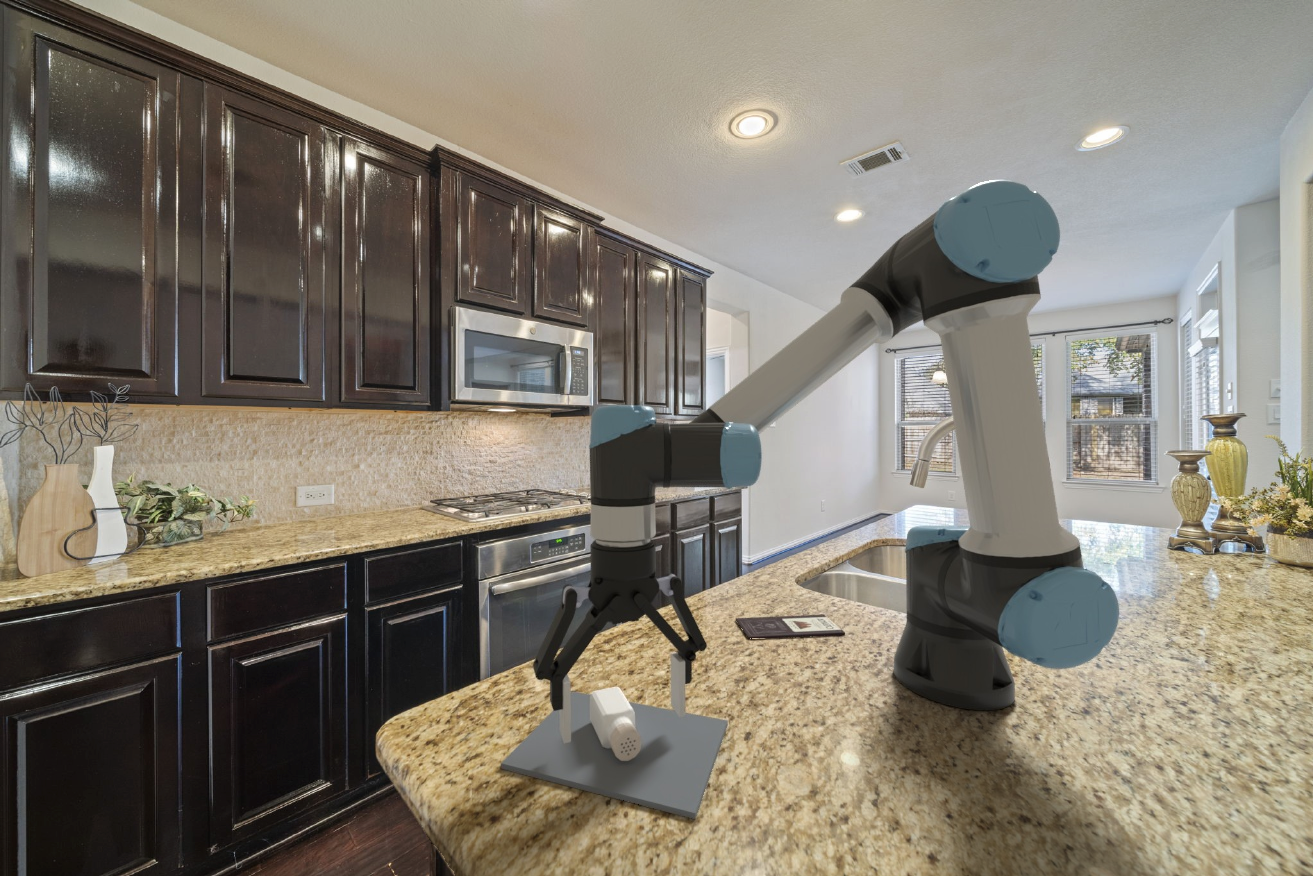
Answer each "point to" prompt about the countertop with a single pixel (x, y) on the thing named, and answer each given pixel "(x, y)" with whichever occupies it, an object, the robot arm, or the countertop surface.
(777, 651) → the countertop surface
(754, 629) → the chocolate bar
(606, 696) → the salt shaker
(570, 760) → the rubber mat
